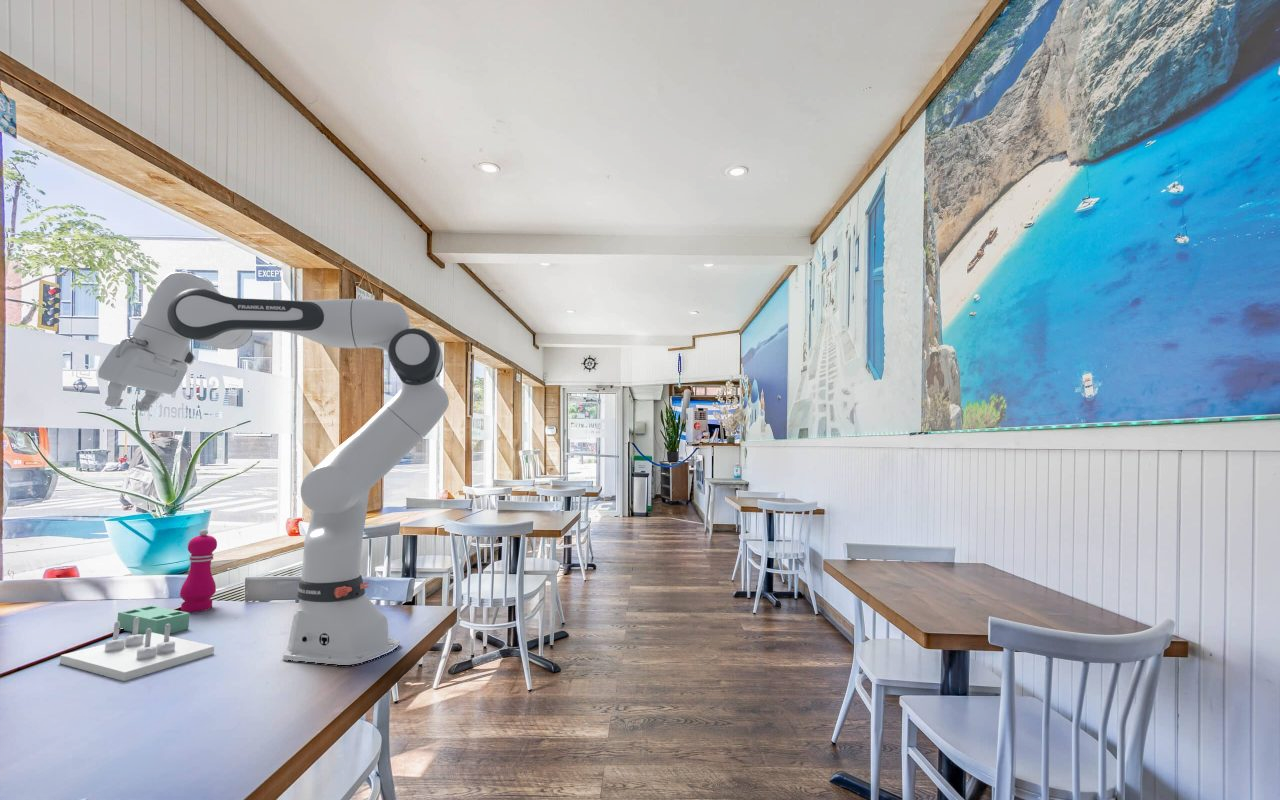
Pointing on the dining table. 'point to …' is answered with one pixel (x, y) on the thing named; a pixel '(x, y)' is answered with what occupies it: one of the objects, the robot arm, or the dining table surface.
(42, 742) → the dining table surface
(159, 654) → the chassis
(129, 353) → the robot arm
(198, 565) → the pepper mill
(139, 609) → the green block with holes
